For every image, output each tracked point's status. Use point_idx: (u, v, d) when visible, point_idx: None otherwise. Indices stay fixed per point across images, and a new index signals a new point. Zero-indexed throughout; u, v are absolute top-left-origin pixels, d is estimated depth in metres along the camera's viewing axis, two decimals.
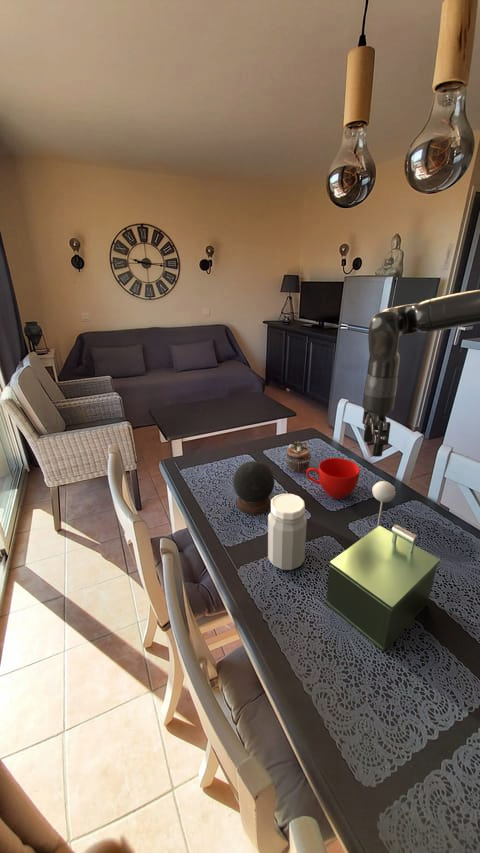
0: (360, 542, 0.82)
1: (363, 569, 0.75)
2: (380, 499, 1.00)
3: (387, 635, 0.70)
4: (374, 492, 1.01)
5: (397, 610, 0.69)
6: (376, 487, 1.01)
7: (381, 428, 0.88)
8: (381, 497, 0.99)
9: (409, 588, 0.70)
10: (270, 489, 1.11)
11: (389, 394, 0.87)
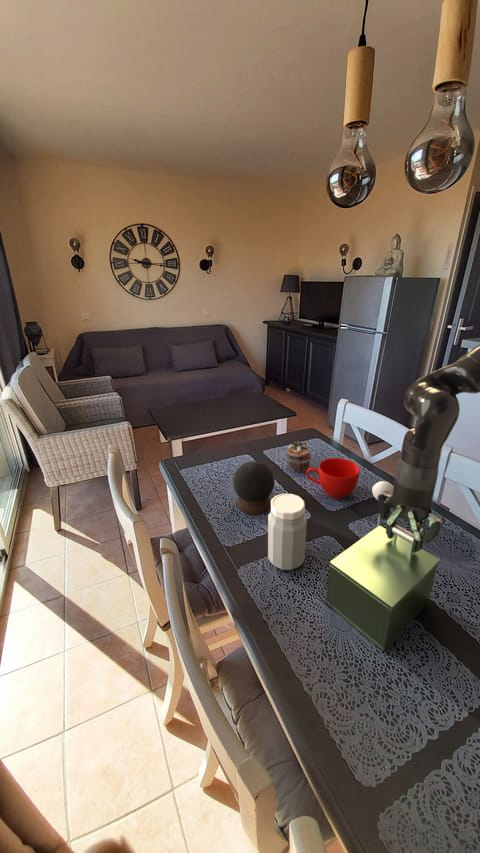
0: (360, 542, 0.82)
1: (363, 569, 0.75)
2: None
3: (387, 635, 0.70)
4: (374, 492, 1.01)
5: (397, 610, 0.69)
6: (375, 487, 1.01)
7: (438, 528, 0.72)
8: None
9: (409, 588, 0.70)
10: (270, 489, 1.11)
11: None
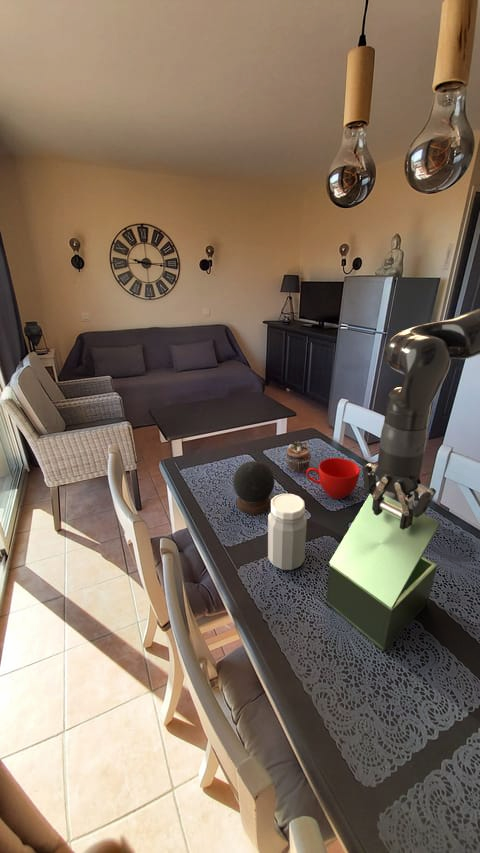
0: (355, 524, 0.78)
1: (360, 563, 0.73)
2: None
3: (387, 635, 0.70)
4: None
5: (397, 610, 0.69)
6: None
7: (428, 500, 0.63)
8: None
9: (407, 577, 0.68)
10: (270, 489, 1.11)
11: (424, 448, 0.63)
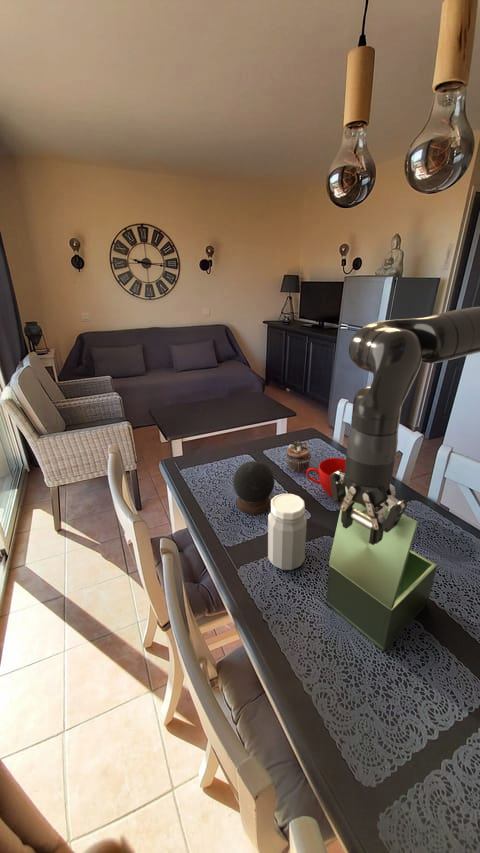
0: (339, 525, 0.74)
1: (355, 565, 0.72)
2: None
3: (387, 635, 0.70)
4: None
5: (397, 610, 0.69)
6: None
7: (398, 514, 0.57)
8: None
9: (398, 580, 0.65)
10: (270, 489, 1.11)
11: (395, 455, 0.56)
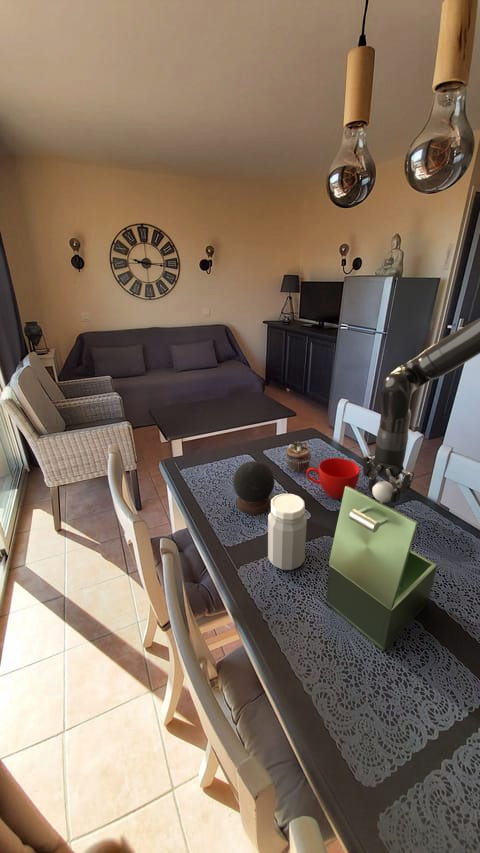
0: (339, 525, 0.74)
1: (354, 565, 0.72)
2: (380, 499, 1.00)
3: (387, 635, 0.70)
4: (374, 492, 1.01)
5: (397, 610, 0.69)
6: (376, 487, 1.01)
7: (409, 480, 0.93)
8: (381, 497, 0.99)
9: (398, 580, 0.65)
10: (270, 489, 1.11)
11: (406, 445, 0.93)
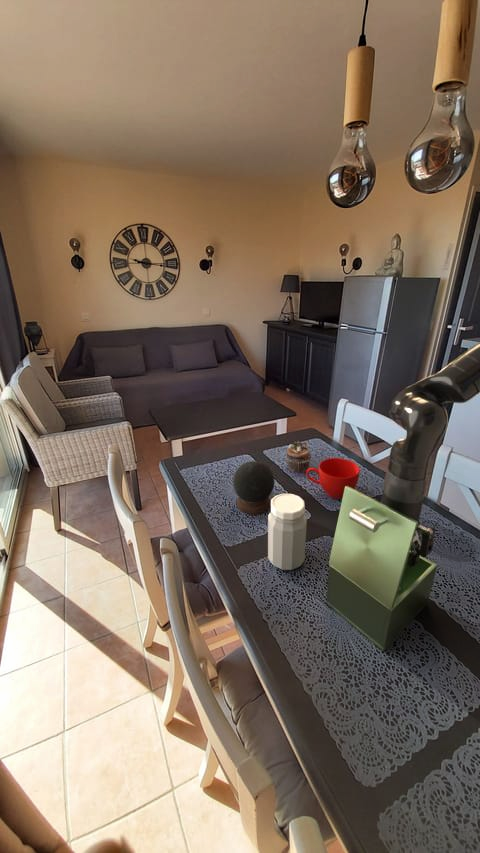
0: (339, 525, 0.74)
1: (354, 565, 0.72)
2: None
3: (387, 635, 0.70)
4: None
5: (397, 610, 0.69)
6: None
7: (429, 538, 0.69)
8: None
9: (398, 580, 0.65)
10: (270, 489, 1.11)
11: (424, 494, 0.70)
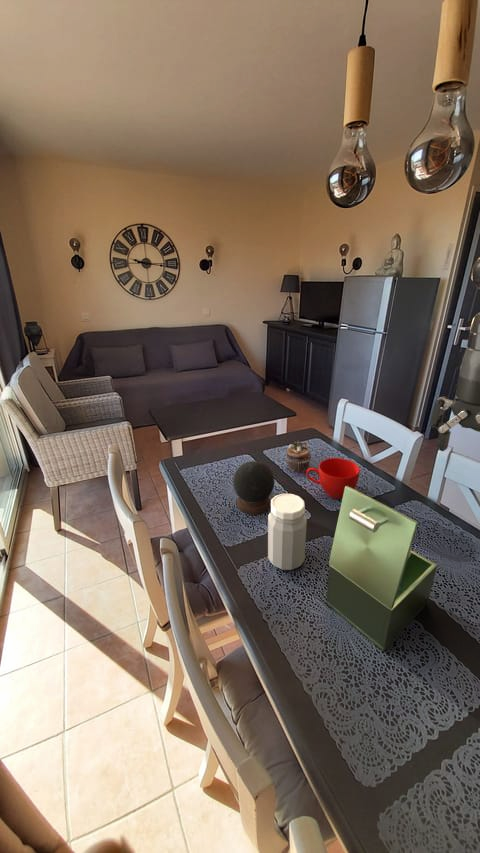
0: (339, 525, 0.74)
1: (354, 565, 0.72)
2: None
3: (387, 635, 0.70)
4: None
5: (397, 610, 0.69)
6: None
7: None
8: None
9: (398, 580, 0.65)
10: (270, 489, 1.11)
11: None
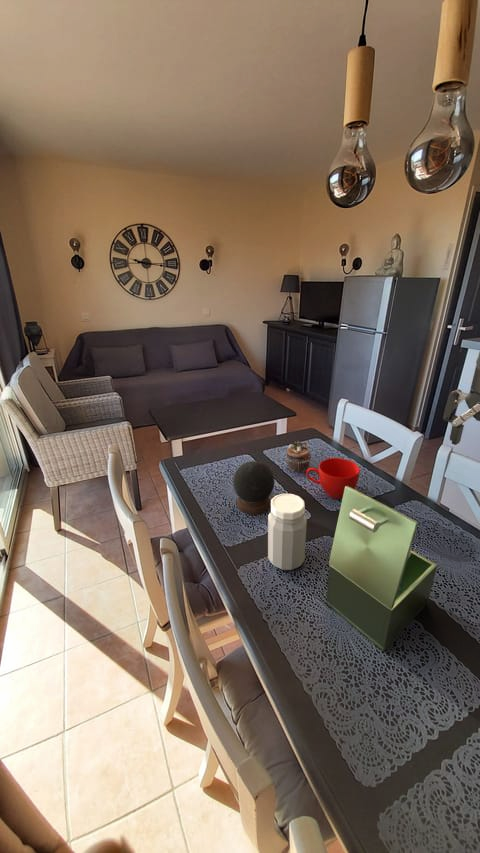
0: (339, 525, 0.74)
1: (354, 565, 0.72)
2: None
3: (387, 635, 0.70)
4: None
5: (397, 610, 0.69)
6: None
7: None
8: None
9: (398, 580, 0.65)
10: (270, 489, 1.11)
11: None
